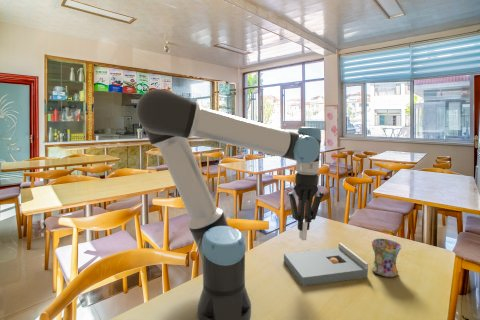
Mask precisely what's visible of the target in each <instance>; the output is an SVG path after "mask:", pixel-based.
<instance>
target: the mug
mask: <svg viewBox="0 0 480 320" xmlns="http://www.w3.org/2000/svg"><path fill="white" fill-rule="evenodd" d="M371 247H372V250H373V252H374V260H373V263H372V265H371V266H370V267H371V270H372V271H373V272H374V273H375V274H378V275H379V276H382V277H387V278H391V277H396V276H397V275H398V273H399V270H398V269H397V257H398V255H399V253H400V251H401V250H402V244H400V243H399V242H397V241H394V240H391V239H389V238H375V239H372V241H371Z"/></svg>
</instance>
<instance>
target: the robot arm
mask: <svg viewBox="0 0 480 320" xmlns="http://www.w3.org/2000/svg"><path fill="white" fill-rule="evenodd" d="M135 110H136V118H137V120H138V123H139V124H140V125H141V126H142V127H143V130H144V132H145V134H146V137H147V139H148V140H149V143H150V144H151V145H150V146H152V147H155V148H157V149H159V151H160V154H161V157H162V158H163V161H164V163H165V165H166V168H167V170H168V172H169V174H170V177H171V178H172V181H173V183H174V185H175V187H176V190H177V191H178V192H177V193H178V194H179V196H180V199H181V201H182V202H183V203H182V204H183V206H184V208H185V210H186V212H187V215H188V217H189V221H188V223H187V226H188V229H189V231H190V233H191V235H192V238H193V239H194V243H195V244H196V247H197V249H198V252H199V256H200V259H201V262H202V284H203V285H202V286H203V287H202V290H201V293H200V297H199V300H198V303H197V317H198V318H197V319H198V320H250V318H251V315H252V303H251V299H250V297H249V294H248V291H247V288H246V285H245V284H246V276H245V275H246V272H245V271H246V242H245V237H244V235H243V233H242V232H241V230H239V229H237V228H233V226H229V223H228V221H227V218H226V216H225V214H224V211H223V210H222V208H220V207H218V206H216V204H215V202H214V200H213V197H212V195H211V193H210V189H209V187H208V185H207V184H206V181H205V178H204V175H203V174H202V172H201V169H200V167H199V164H198V160H196V159H197V158H196V156H195V155H194V152H193V150H192V147H191V145H190V142H189V140H188V139H190V138H192V137H197V138H201V139H205V140H210V141H214V142H217V143H221V144H227V145H230V146H233V147H238V148H239V147H240V148H243V149H248V150H252V151H255V152H260V153H264V155H266V156H271V157H272V156H273V157H276V156H277V157H280V158H283V159H288V160H291V161H294V162H295V161H296V163H295V171H296V172H295V177H294V178H295V180H294V184H295V185H294V187H293V190H291V191H289V192H287V194H286V195H287V196H288V199H289V203H290V208H291V214H292V218H293V219H294V220H295V221H297V230H299V231H298V232H299V239H300V240H301V241H307V238H308V237H307V235H308V231H309V230H310V223H312V220H313V221H315V220H316V218H317V214H318V211H319V207H320V204H321V200H322V199H323V198H324V196H325V193H324V192H322V191H320V190H319V188H318V183H319V174H318V173H319V169H320V168H319V167H320V154H321V143H322V131H321V129H320V128H319V127H315V126H311V127H310V126H300V127H298V128H297V129H298V130H297V132H293V131H288V130H286V129H283V128H279V127H275V126H272V125H268V124H264V123H261V122H257V121H254V120H250V119H246V118H243V117H239V116H235V115H231V114H229V113H225V112H220V111H217V110H214V109H210V108H206V107H203V106H201V105H200V104H199V101H196V100H193V99H190V98H187V97H185V96H181V95H179V94H176V93H174V92H171V91H169V90H166V89H161V88H155V89H151V90H148V91H146V92H145V93H144V94H143V95H141V97H139V100H138V101H137V104H136V109H135ZM296 196H297V200H296ZM297 201H298V204H297Z"/></svg>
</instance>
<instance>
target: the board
mask: <svg viewBox="0 0 480 320" xmlns="http://www.w3.org/2000/svg"><path fill="white" fill-rule="evenodd" d="M331 258H336V259H337V260H338V261H339V263H337V264H333V263H332V262H331V261H330V259H331ZM283 263H285V265H286V266H287V267H288V269H289V271H290V272H291V273H292V274H293V275H294V277H295V278H296V279H297V281H298V282H299V283H300V285H301V286H302V287H305V286H314V285H321V284H322V285H323V284H328V283H333V282H334V283H336V282H343V281H349V280H356V279H357V280H358V279H364V278H368V274H369V263H368V262H367V261H365V260H364V259H363V258H361V257H360V256H359V255H357V253H355V252H353V250H351V249H350V248H349V247H347V246H346V245H344V244H343V243H342V242H339V243H338V247H333V248H325V249H324V248H323V249H316V250H315V249H314V250H306V251H298V252H290V253H289V252H288V253H284V254H283Z"/></svg>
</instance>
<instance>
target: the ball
mask: <svg viewBox="0 0 480 320" xmlns="http://www.w3.org/2000/svg"><path fill="white" fill-rule="evenodd" d="M330 261H331V262H332V263H333V264H337V263H339V261H338V260H337V259H336V258H331V259H330Z"/></svg>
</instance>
